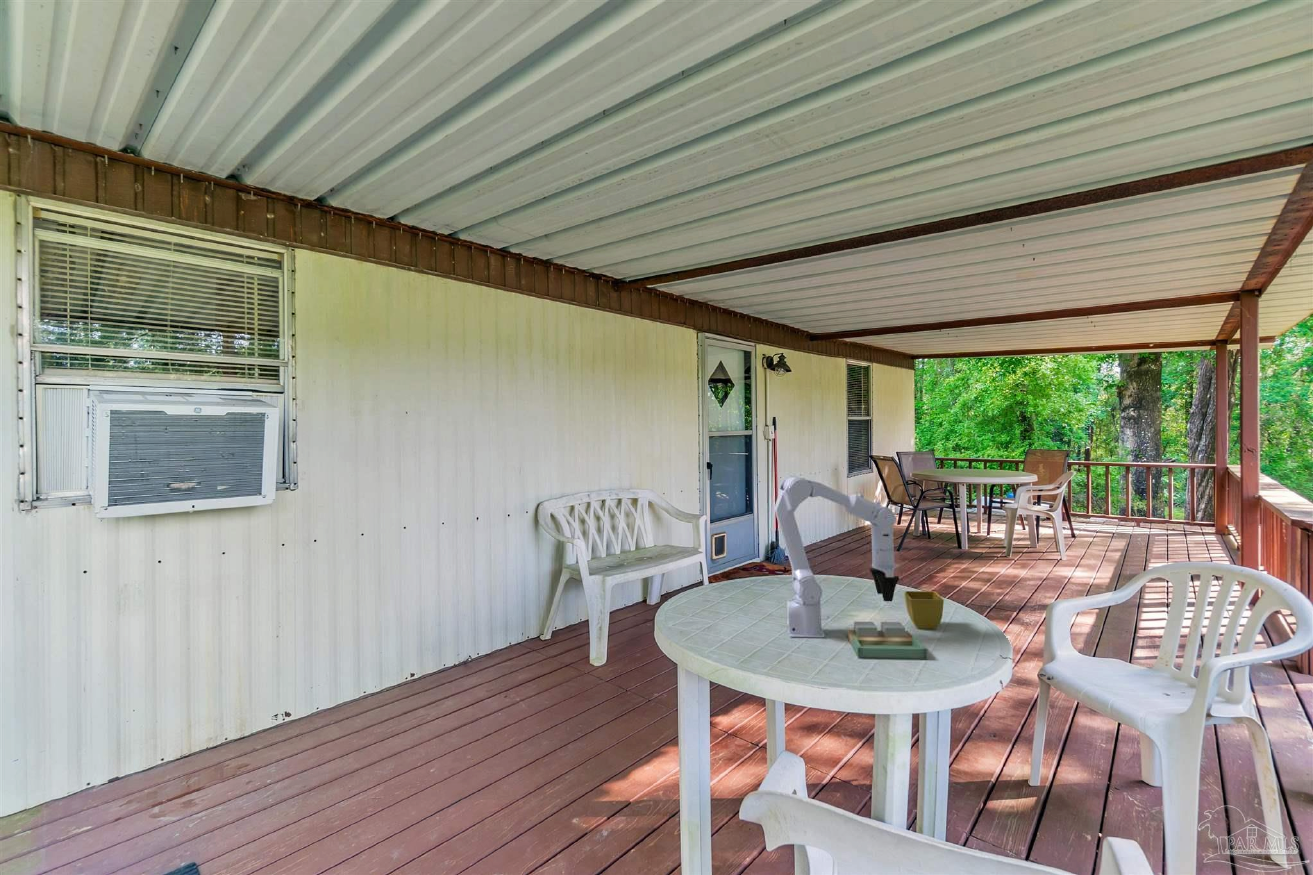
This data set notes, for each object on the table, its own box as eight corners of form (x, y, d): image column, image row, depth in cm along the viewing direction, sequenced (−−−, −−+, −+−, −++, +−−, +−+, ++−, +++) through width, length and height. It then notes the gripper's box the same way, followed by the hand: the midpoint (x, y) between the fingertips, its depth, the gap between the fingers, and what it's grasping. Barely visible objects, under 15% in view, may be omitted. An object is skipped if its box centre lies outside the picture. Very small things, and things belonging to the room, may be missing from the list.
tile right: (885, 637, 152) (885, 627, 152) (880, 631, 157) (880, 621, 157) (905, 637, 151) (905, 627, 151) (900, 631, 156) (899, 622, 156)
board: (852, 646, 150) (851, 640, 150) (846, 635, 158) (846, 630, 158) (916, 647, 148) (916, 640, 148) (907, 636, 156) (907, 630, 156)
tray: (858, 658, 142) (858, 648, 142) (852, 646, 150) (851, 636, 150) (927, 659, 140) (926, 649, 140) (916, 647, 148) (916, 637, 148)
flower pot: (945, 632, 159) (944, 599, 159) (911, 631, 160) (910, 598, 160) (936, 622, 167) (935, 591, 167) (904, 621, 169) (903, 590, 169)
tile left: (857, 636, 153) (857, 627, 153) (854, 630, 158) (853, 621, 158) (877, 637, 152) (877, 627, 152) (873, 631, 157) (872, 621, 157)
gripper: (904, 553, 154) (906, 604, 154) (891, 544, 168) (893, 590, 168) (877, 553, 155) (879, 604, 155) (866, 544, 169) (867, 590, 169)
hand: (884, 597), depth 162 cm, fingers open, 7 cm apart
